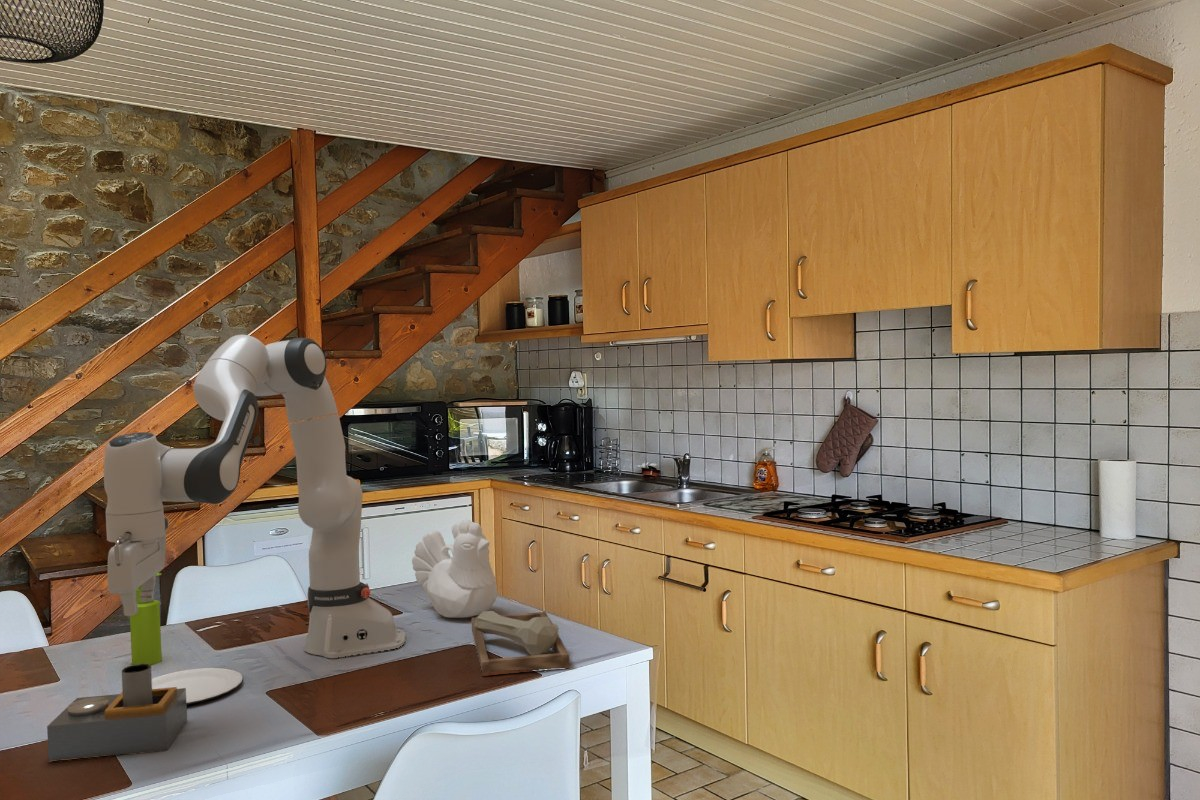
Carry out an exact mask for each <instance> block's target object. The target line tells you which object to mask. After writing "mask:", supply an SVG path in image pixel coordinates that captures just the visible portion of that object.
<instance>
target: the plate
mask: <svg viewBox="0 0 1200 800" xmlns="http://www.w3.org/2000/svg"><path fill="white" fill-rule="evenodd" d="M243 678H244V677H243V676H242V673H240V672H239V671H236V670H234V669H230V668H221V667H219V668H218V667H205V668H204V667H203V668H193V669H192V668H191V669H185V670H180V671H174V672H170V673H166V674H163V675H159V676H155V677H152V689H159V688H171V687H177V689H181V688H186V703H187V705H191V704H196V703H197V704H198V703H200V702H205V701H207V700H208V701H209V700H211V699H216V698H218V697H220V696H223V695H225V694H228V693H230V692H231V691H233V690H235V689H236V688H237V687H238V686H239V685H241V684H242V682H243V680H244V679H243Z"/></svg>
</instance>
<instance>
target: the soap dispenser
mask: <svg viewBox="0 0 1200 800" xmlns="http://www.w3.org/2000/svg"><path fill="white" fill-rule="evenodd" d="M160 576H162V573H160V572H158V573H156V578H158V577H160ZM141 591H142V585H141V586H139V587H138V588H137V589H136V594H135V599H136V603H138V612H137V613H136V614H135V615H133V616H129V625H130V627H129V628H130V651H131V652H130V653H131V655H130V656H131V666H132V665H137V664H149V665H151V666H153V665H157V664H159V663H160V662H161V661H162V659H163V657H162V638H161V637H162V632H161V631H162V630H161V611H160V610H161V608H160V606H161V605H160V600H158V599H157V600H156V599H154V598H153V599H152V600H151V601H149V602H142V601H141Z"/></svg>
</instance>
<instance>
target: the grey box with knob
mask: <svg viewBox="0 0 1200 800" xmlns="http://www.w3.org/2000/svg"><path fill="white" fill-rule="evenodd" d="M152 698H153V704H149V705H139V706H128V707H123V691H121V693H118V694H117V693H115V694H105V695H96V696H95V695H94V696H84V697H76V698H75V700H73V701H72V702H71V703H69V704H68V706H67V707H66V708H65V709H64V710H63V711H61V713H60V714H59V715H57V717H55V718H54V719H52V721H51V722H50V723H49V724H48V725H46V729H47V733H46V734H47V751H48V753H47V754H48V762H49V761H51V760H61V759H71V758H84V757H93V756H94V757H95V756H102V755H103V756H104V755H117V756H120V755H119V754H126V755H134V754H133V753H136V754H142V753H141V752H146V753H153V752H152V751H155V752H161V751H160V750H165V751H168V750H169V749H170V748H171V746H172V744H173V743H174V741H175V739H177V737H178V735H179V734H180V733H181V731H182V729H183V728H184V726H185V725H186V723H187V722H188V709H187V705H188V704H187V703H186V688H181V689H177V687H171V688H159V689H152ZM168 748H169V749H168ZM150 751H151V752H150ZM131 753H132V754H131Z"/></svg>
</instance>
